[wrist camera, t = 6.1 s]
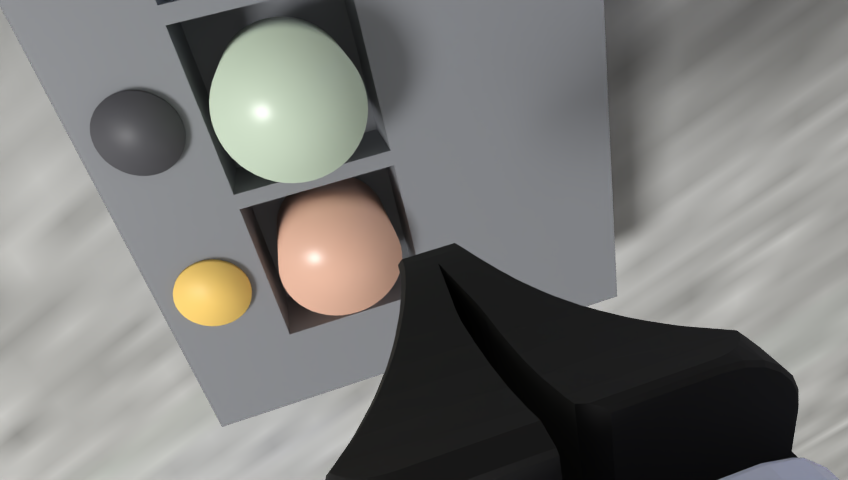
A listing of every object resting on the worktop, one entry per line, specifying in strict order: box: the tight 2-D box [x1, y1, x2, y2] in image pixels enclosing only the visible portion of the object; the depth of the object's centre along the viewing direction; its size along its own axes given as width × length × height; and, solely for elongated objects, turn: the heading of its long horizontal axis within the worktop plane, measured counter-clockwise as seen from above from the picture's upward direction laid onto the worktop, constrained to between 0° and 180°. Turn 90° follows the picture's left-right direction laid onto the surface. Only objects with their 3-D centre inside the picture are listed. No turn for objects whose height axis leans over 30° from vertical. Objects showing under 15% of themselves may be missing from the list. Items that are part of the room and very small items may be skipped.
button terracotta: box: [277, 177, 402, 315], centre depth 20 cm, size 4×4×3 cm
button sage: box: [209, 16, 368, 183], centre depth 16 cm, size 4×4×3 cm
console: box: [0, 0, 617, 427], centre depth 18 cm, size 16×22×4 cm
